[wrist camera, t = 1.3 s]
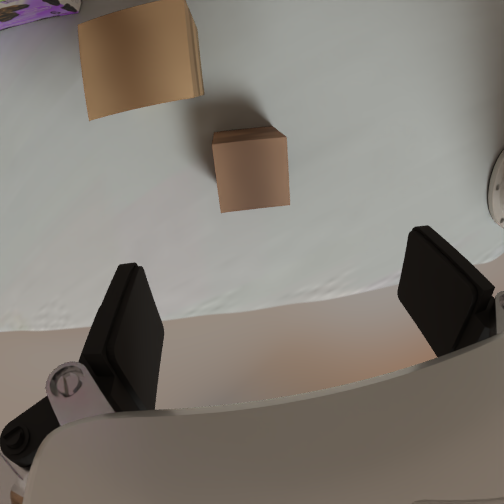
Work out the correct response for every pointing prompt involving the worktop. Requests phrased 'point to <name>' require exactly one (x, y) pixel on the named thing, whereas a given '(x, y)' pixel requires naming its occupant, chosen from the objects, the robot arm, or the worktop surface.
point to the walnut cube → (251, 168)
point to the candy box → (34, 10)
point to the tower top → (138, 58)
